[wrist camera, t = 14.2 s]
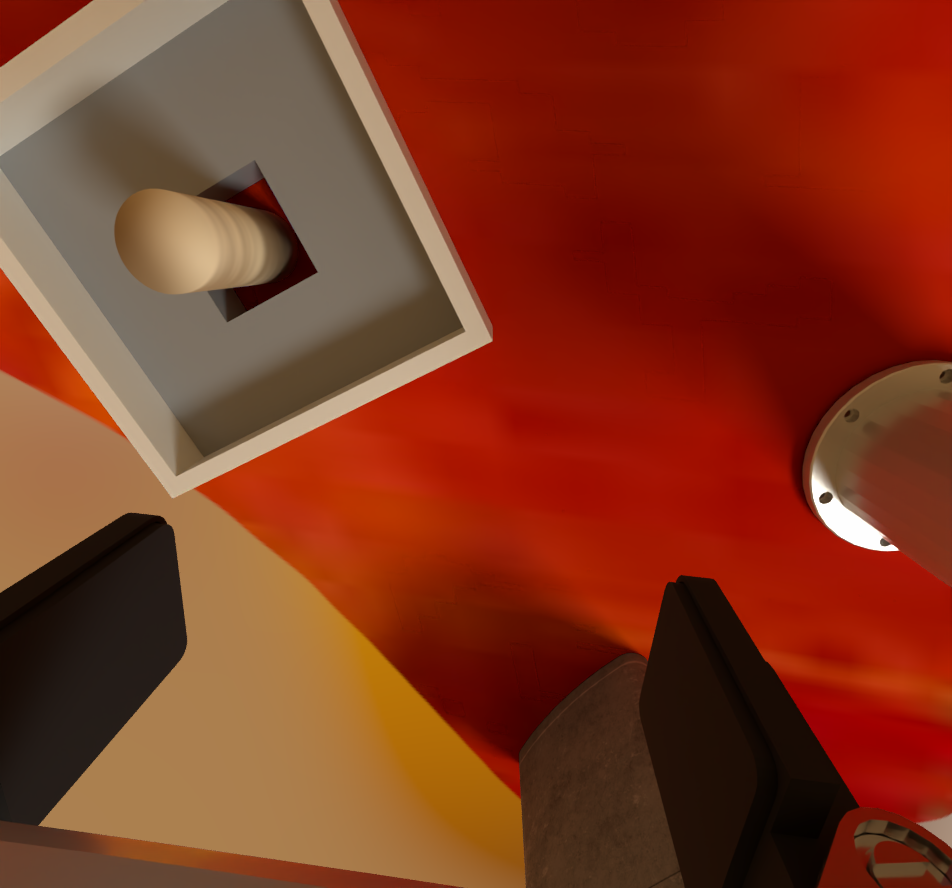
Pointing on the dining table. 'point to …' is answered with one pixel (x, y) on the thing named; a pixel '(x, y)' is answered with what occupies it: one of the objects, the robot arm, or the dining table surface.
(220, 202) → the peg
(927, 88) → the dining table surface
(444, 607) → the dining table surface
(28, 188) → the open top box
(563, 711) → the flask
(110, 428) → the dining table surface
